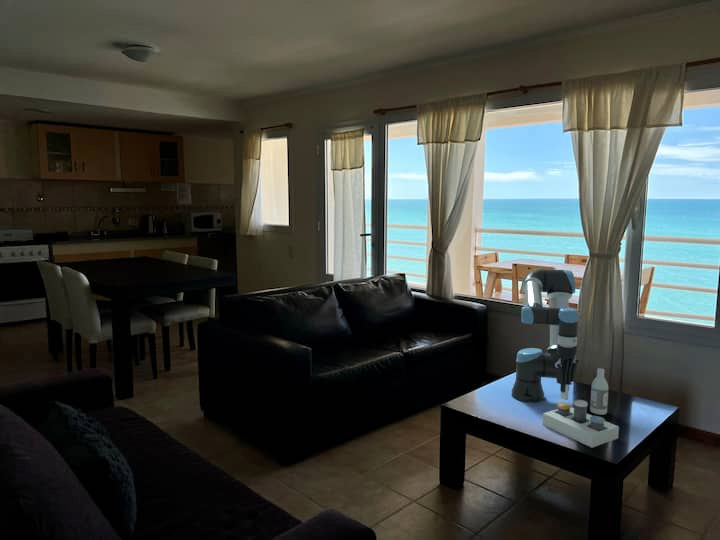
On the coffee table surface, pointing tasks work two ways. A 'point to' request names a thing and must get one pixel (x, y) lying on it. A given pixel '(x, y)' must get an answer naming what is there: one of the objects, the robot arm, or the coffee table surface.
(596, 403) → the bath foam
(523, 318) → the robot arm
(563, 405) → the knob
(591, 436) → the mount
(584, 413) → the knob
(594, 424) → the knob
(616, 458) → the coffee table surface
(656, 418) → the coffee table surface
